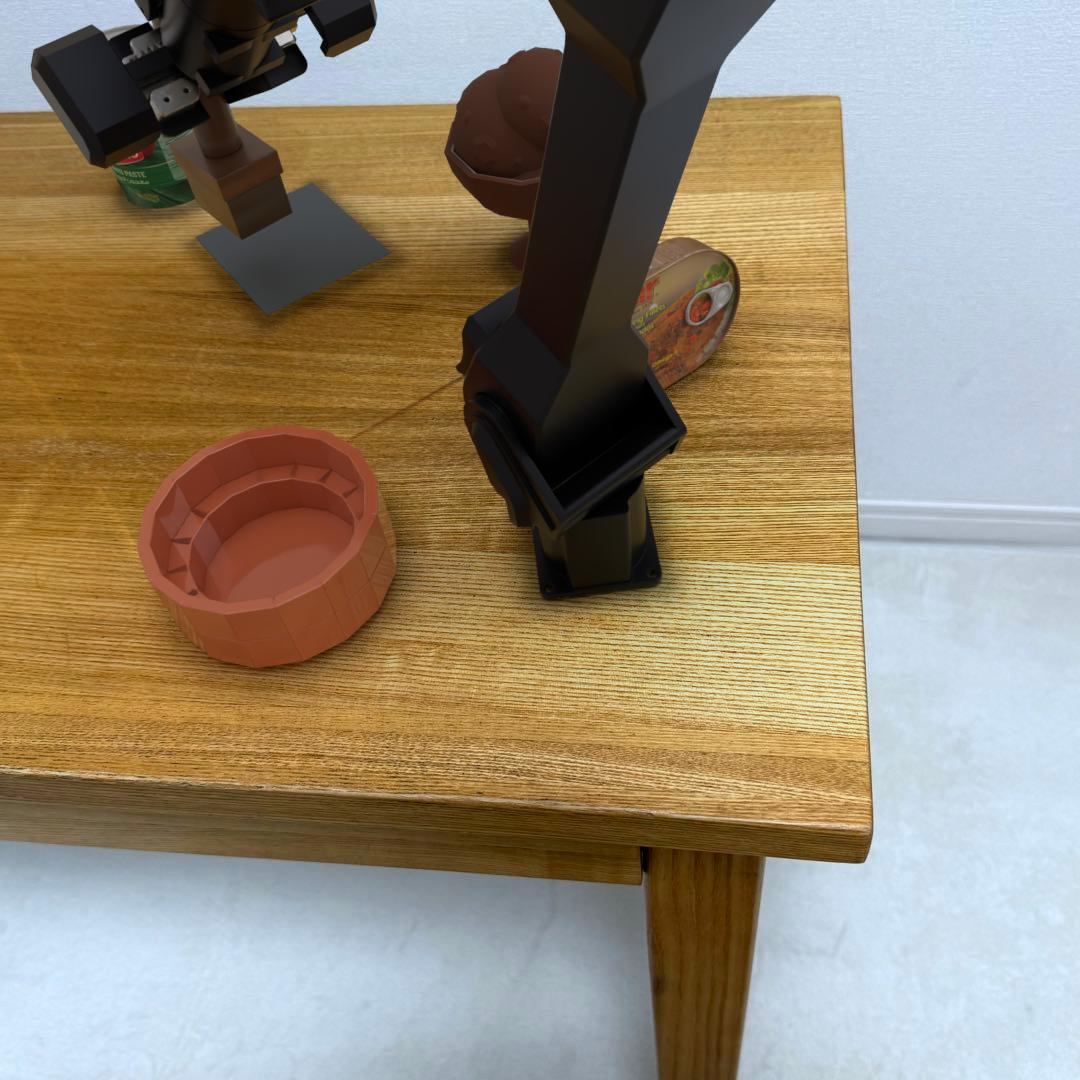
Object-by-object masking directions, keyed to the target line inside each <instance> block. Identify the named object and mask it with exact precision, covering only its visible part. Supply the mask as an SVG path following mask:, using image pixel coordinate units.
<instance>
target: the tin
mask: <svg viewBox="0 0 1080 1080" xmlns="http://www.w3.org/2000/svg"><path fill="white" fill-rule="evenodd" d="M740 276H741V275H740V272H739V269H738V267H737V265H736V263H735V261H734V260H733V259H732V257H730V256H729V255H728V254H727V253H725V252H723V251H721V250H720V249H719V250H718V249H715V248H713V247H712V246H709V245H708V244H706V243H704V242H702V241H700V240H698V239H696V238H692V237H685V236H679V237H671V238H669V239H665V240H664V241H663V240H662V241H661V242H658V245H657V248H656V251H655V254H654V256H653V259H652V262H651V265H650V268H649V270H648V273H647V276H646V279H645V282H644V285H643V287H642V290H641V293H640V296H639V299H638V301H637V304H636V307H635V310H634V313H633V315H632V319H631V323H632V324H633V325H634V326H635V328H636V329H637V330H638V331H639V333H640V334H641V335H642V336H643V338H644V339H645V340H646V342H647V343H648V344H649V355H648V362H647V363H648V364H649V366H650V368H651V369H652V371H653V373H654V374H655V376H656V378H657V379H658V381H659V383H660V384H661V386H662V388H663V389H664V390H665V389H666V388H668V387H670V386H671V385H673V384H675V383H677V382H678V381H679V380H682V379H683V378H684V377H686V376H687V375H689V374H691V373H692V372H694V371H696V370H697V369H698V368H699V367H701V366H703V364H704V363H706V361H707V360H709V358H711V356H712V355H713V354H714V353H715V352H716V350H718V348H719V347H720V346H721V344H722V342H723V341H724V340H725V338H726V336H727V334H728V332H729V331H730V329H731V327H732V325H733V322H734V319H735V318H736V314H737V311H738V307H739V303H740V298H741V291H742V290H741V289H742V288H741V278H740Z"/></svg>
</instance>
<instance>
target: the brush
mask: <svg viewBox="0 0 1080 1080" xmlns="http://www.w3.org/2000/svg"><path fill="white" fill-rule="evenodd" d="M151 25H153V27H154V29H156V28H159V27H161V25H160V24H159V22H158V21H157V19H154V20H152V21H151ZM199 92H200V93H199V100H200V101H201V103H202V104H203V106H204V108H205V109H206V111H207V112H208V114H209V115H210V117H211V119H210V120H208V121H206V122H204V123H202V124H200V125H198V126H196V127H194V128H193V130H194V132H192V133H190V134H188V135H186V136H184V137H182V138H180V139H178V140H176V141H174V142H172V143H170V144H169V145H170V148H171V150H172V153H173V155H174V158H175V160H176V162H177V165H178V166H179V167H180V168H182V169H183V170H184V172H185V174H186V177H187V179H188V182H189V184H190V187H191V189H192V192H193V194H194V197H195V199H194V200H195V202H196V204H197V206H199V207H200V208H202V210H204V211H205V212H206V213H207V214H209V215H210V216H211V217H212V218H214V219H215V220H216V221H217V222H218V223H220V225H224V226H225V227H226V228H227V229H229V230H230V231H231V232H232V233H233V234H235V235H236V236H237V237H238V238H240V239H241V240H244V239H245V238H247V237H249V236H251V235H253V234H255V233H256V232H258V231H260V230H262V229H264V228H266V227H268V226H269V225H271V224H273V223H275V222H277V221H279V220H280V219H282V218H284V217H286V216H288V215H290V214H292V213H293V211H292V208H291V205H290V202H289V199H288V196H287V194H288V193H287V191H286V187H285V184H284V182H283V178H282V174H284V168H283V165H282V163H281V159H280V156H279V153H278V150H277V149H276V148H274V147H273V146H271V145H270V144H269V143H267V142H266V141H264V140H263V139H262V138H260V137H259V136H257V135H256V134H254V133H253V132H251V131H250V130H248V129H247V128H245V127H244V126H243V125H241V123H238V122H237V121H236V120H235V117H234V114H233V111H232V108H231V106H230V104H229V103H228V100H227V97H226V94H225V91H224V92H222V93H220V94H218V95H216V96H214V97H212V98H210V99H208V98H207V96H206V95H205V93H204V91H203V90H202V88H201V87H199Z"/></svg>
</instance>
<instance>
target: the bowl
mask: <svg viewBox="0 0 1080 1080" xmlns="http://www.w3.org/2000/svg"><path fill="white" fill-rule="evenodd" d="M395 533H396V532H395V530H394V527H393V524H392V520H391V518H390V515H389V511H388V508H387V506H386V502H385V498H384V496H383V492H382V489H381V487H380V484H379V480H378V478H377V476H376V474H375V473H374V471H373V470H372V468H371V466H370V465H369V463H368V461H367V460H366V457H364V455H363V453H362V451H361V450H359V448H357V447H355V446H354V445H352V444H350V443H349V442H347V441H345V440H344V439H343V438H340V437H338V436H337V435H335V434H334V433H332V432H330V431H328V430H324V429H318V428H317V429H316V428H311V427H304V426H299V425H291V424H283V425H276V426H269V427H263V428H255V429H249V430H243V431H240V432H237V433H236V434H234V435H231V436H229V437H227V438H223V439H222V440H219V441H217V442H214V443H212V444H210V445H208V446H206V447H202V448H201V449H200V450H198V451H197V452H196V453H194V454H193V455H192V456H191V457H190V458H188V459H187V460H185V462H183V463H182V464H180V465H179V466H178V467H177V468H176V469H174V470H173V471H172V472H170V474H168V475H167V476H166V477H164V479H163V480H162V482H161V484H159V487H158V488H157V489H156V491H155V492H154V494H153V496H152V498H151V499H150V500H149V502H148V503H147V505H146V506H145V508H144V509H143V511H142V516H141V521H140V528H139V532H138V537H137V538H138V539H137V544H136V551H137V555H138V557H139V559H140V562H141V565H142V567H143V569H144V572H145V575H146V577H147V580H148V583H149V584H150V585H151V588H152V589H153V590H154V591H155V593H156V595H157V597H158V598H159V599H160V601H161V602H162V604H163V605H164V607H165V609H166V610H167V612H168V613H169V615H170V616H171V618H172V619H173V621H174V623H175V624H176V626H177V627H178V629H179V630H180V632H181V633H182V635H183V636H184V637H185V638H186V639H188V640H189V641H190V642H192V643H193V644H194V645H195V646H197V647H198V648H199V649H200V650H202V651H203V652H204V653H205V654H207V656H209V657H211V658H213V659H214V660H217V661H222V662H227V663H232V664H235V665H236V664H237V665H241V666H245V667H250V668H254V669H255V668H256V669H258V668H265V667H271V666H272V667H273V666H278V665H280V666H281V665H285V664H293V663H300V662H304V661H306V660H309V659H311V658H313V657H314V656H317V655H319V654H321V653H323V652H324V651H327V650H329V649H331V648H333V647H335V646H338V645H340V644H341V643H344V642H345V641H347V640H348V639H350V637H352V636H353V634H354V633H355V632H357V631H358V630H359V629H360V628H361V627H362V626H363V625H364V624H365V623H366V622H367V621H368V620H369V619H370V618H371V617H372V616H373V615H374V614H375V613H376V612H377V611H378V610H379V609H380V608H381V606H382V604H383V601H384V599H385V597H386V595H387V593H388V590H389V589H390V586H391V584H392V582H393V580H394V578H395V576H396V573H397V568H398V567H397V536H396V534H395Z"/></svg>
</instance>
